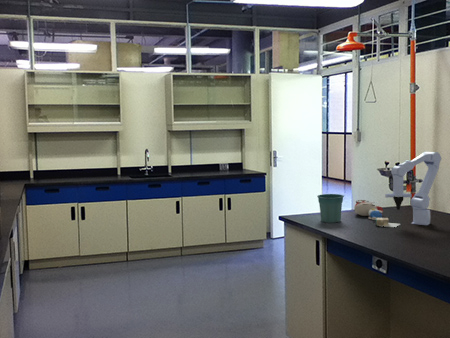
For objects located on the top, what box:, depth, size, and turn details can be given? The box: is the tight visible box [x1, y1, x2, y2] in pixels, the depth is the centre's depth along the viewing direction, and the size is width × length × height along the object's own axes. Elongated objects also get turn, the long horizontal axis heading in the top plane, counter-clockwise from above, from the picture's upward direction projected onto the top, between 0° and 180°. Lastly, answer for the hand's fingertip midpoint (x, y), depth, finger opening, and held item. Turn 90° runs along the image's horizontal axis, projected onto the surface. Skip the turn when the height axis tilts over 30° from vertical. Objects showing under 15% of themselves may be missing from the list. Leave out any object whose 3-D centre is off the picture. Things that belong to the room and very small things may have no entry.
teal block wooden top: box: [375, 217, 389, 227], centre depth 301 cm, size 4×6×7 cm
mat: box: [378, 222, 401, 228], centre depth 301 cm, size 10×10×1 cm
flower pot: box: [317, 193, 344, 224], centre depth 318 cm, size 16×16×16 cm
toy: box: [353, 199, 384, 221], centre depth 327 cm, size 18×10×30 cm
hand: (398, 209), depth 297 cm, fingers closed
